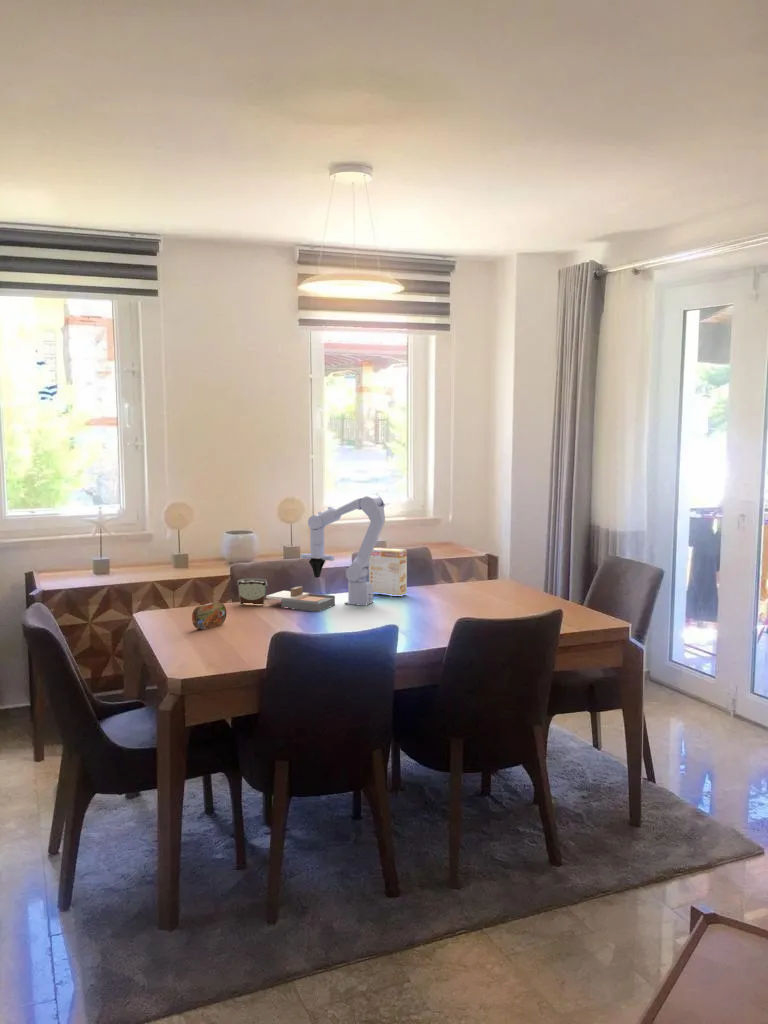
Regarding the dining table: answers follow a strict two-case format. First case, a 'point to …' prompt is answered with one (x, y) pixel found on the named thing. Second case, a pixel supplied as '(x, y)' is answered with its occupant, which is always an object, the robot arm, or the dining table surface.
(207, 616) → the tin
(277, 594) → the cover
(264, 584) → the food container
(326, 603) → the box
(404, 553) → the coffeecake box
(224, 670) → the dining table surface
